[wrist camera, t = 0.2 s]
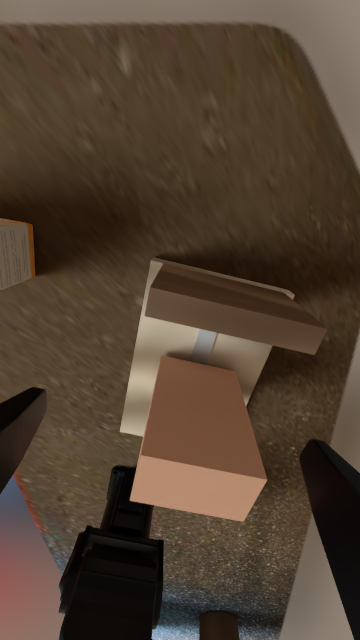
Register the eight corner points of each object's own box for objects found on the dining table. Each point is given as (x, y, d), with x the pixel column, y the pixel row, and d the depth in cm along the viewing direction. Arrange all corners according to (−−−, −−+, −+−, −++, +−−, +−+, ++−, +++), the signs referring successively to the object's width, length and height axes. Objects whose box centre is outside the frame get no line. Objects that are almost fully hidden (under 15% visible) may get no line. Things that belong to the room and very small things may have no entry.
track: (223, 441, 29) (236, 525, 21) (123, 421, 28) (97, 500, 20) (288, 289, 21) (345, 333, 13) (153, 257, 21) (131, 282, 13)
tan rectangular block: (222, 404, 24) (243, 521, 15) (153, 389, 24) (129, 500, 14) (235, 371, 22) (267, 479, 13) (161, 355, 22) (140, 455, 13)
